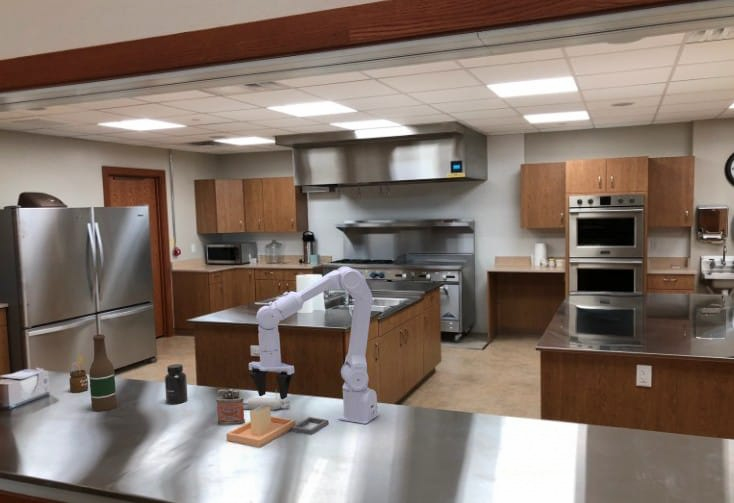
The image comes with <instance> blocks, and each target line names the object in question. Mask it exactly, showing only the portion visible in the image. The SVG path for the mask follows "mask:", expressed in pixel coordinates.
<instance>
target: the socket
mask: <svg viewBox="0 0 734 503" xmlns="http://www.w3.org/2000/svg"><path fill="white" fill-rule="evenodd" d="M310 423H313V424H317V425H314V426H313V427H312V428H305V426H306V425H308V424H310ZM328 425H329V419H324V418H320V417H319V418H318V417H313V416H308V417H306V418H305V419H303V420H301V421H299V422H298V423H296V425H294V426H293V427H292V429H291V432H294V433H300V434H304V435H311V436H312V435H313V434H316V433H317V432H318V431H320V430H321V429H323V428H325V427H327V426H328Z"/></svg>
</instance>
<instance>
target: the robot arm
mask: <svg viewBox="0 0 734 503" xmlns="http://www.w3.org/2000/svg"><path fill="white" fill-rule="evenodd" d="M341 288H342V289H343V290H345V291H347V293H348V294H349V295H350V297H351V298H352V299H353V300H354V301H353V302H354V304H353V312H352V317H351V318H352V319H351V320H352V321H351V329H350V336H349V343H348V352H347V354H346V355H345V360H344V364H343V365H342V367H341V368H340V376H341V378H342V379H343V380H344V382H343V385H342V400H343V414H342V415H340V416H338V420H339V421H346V422H353V423H358V424H363V425H364V424H365V425H366V424H368V423H369V422H371V421H373V420H374V419H375V418H377V417H378V416H379V415H380V414H379V413H378V396H377V392H376V391H375V390H374V389H371V388H369V387H368V383H369V380H370V379H369V374H368V363H367V359H366V353H367V346H368V337H369V329H370V322H371V321H370V320H371V315H372V314H371V313H372V305H373V294H372V291H371V290H370V287H369V285H368V282H367V281H366V277H365V276H364V275H363V274H362V273H361V272H360V271H359V270H357V269H355V268H351V267H350V266H346V265H344V266H343V265H342V266H341V267H339V268H337V269H334V270H332V271H330V272H328V273H326V274H325V275H324V276H322V277H320V278H319V279H317V280H316V281H314V282H312V283H310V284H309V285H308V286H306V287H305V288H303V289H301V290H300V291H299V292H295V291H293V290H291V291H289V292H288V291H285V292H283V296H281V297H279V298H278V299H276V300H274V301H269V302H268V305H264V306H261V307H260V308H259V309H258V311H257V313H256V316H255V317H256V321H257V323H258V335H257V336H258V348H259V361H251V362H249V363H248V370H249V371H251V372H249V377H250V379H251V380H252V381H253V383H254V385H255V388H256V390H257V394H258V396H259V397H263V396H265V395H266V394H267V392H266V391H267V386H266V384H267V382H266V381H267V380H266V378H267V372H271V373H272V372H273V373H279V374H277V375H275V379H276V381H277V384H278V385H277V386H278V388H279V389H278V391H279V397H280V398H279V399H280V400H284V399H286V398H288V392H289V389H290V386H291V381H292V380H293V377H294V375H295V366H294V365H289V364H286V363H284V362H282V358H281V342H280V332H279V326H278V325H279V324H280V321H284V320H285V319H287V318H288V317H290V316H292V315H294V314H295V313H297V312H299V311H300V310H302V309H303V306H304V303H306V302H307V301H309V300H312V299H313V298H315V297H316V296H318V295H320V294H322V293H324V292H326V291H328V290H341Z"/></svg>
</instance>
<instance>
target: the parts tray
mask: <svg viewBox="0 0 734 503" xmlns="http://www.w3.org/2000/svg"><path fill="white" fill-rule="evenodd" d="M296 424H297V423H296V420H295V419H291V418H285V417H280V416H279V417H278V416H275V415H274V416H273V415H271V430H270V431H268V432H266V433H264V434H262V435H261V436H258V435H253V434H251V421H250V420H249V421H248V422H245V423H244V424H241V425H240V426H239V427H236V428H235V429H233V430H230V431H229V432H226V434H225V436H226V442H231V443H236V444H240V445H245V446H251V447H255V448H262V447H264V446H266V445H268V444H270V443H271V442H273V441H274V440H276V439H278V438H279V437H281V436H283V435H284V434H286V433H289V432H290V431H292V427H293V426H294V425H296Z"/></svg>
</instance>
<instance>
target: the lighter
mask: <svg viewBox="0 0 734 503" xmlns="http://www.w3.org/2000/svg"><path fill="white" fill-rule="evenodd" d="M217 393H218V394H217V395H218V397H216V399H215V402H216V406H217V407H216V408H217V425H220V426H239V425H240V426H241V425H244V424H246V418H245V412H244V409H243V403H244V396H239V394H240V391H239V389H237V390H236V389H235V390H234V389H233V388H229V389H228V390H227V389H219V390H217Z"/></svg>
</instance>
